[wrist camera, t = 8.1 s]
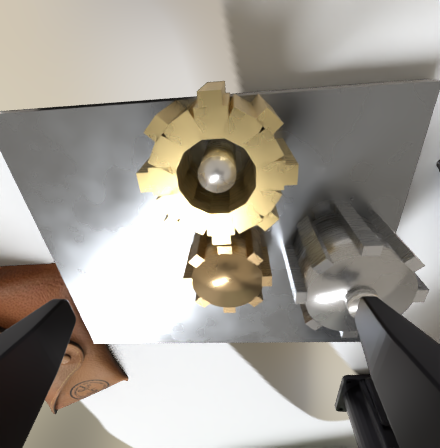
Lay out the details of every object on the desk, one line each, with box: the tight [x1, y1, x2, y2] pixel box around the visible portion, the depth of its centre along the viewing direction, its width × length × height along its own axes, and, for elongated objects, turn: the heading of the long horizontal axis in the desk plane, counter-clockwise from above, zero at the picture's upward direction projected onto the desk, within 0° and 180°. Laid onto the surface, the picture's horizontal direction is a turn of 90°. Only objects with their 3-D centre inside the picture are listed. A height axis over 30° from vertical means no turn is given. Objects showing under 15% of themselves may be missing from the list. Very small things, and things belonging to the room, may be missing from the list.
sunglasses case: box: [0, 263, 128, 414], centre depth 26 cm, size 18×7×7 cm, turn 9°
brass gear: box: [136, 81, 299, 245], centre depth 14 cm, size 7×7×4 cm
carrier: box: [0, 79, 440, 343], centre depth 18 cm, size 20×24×6 cm
